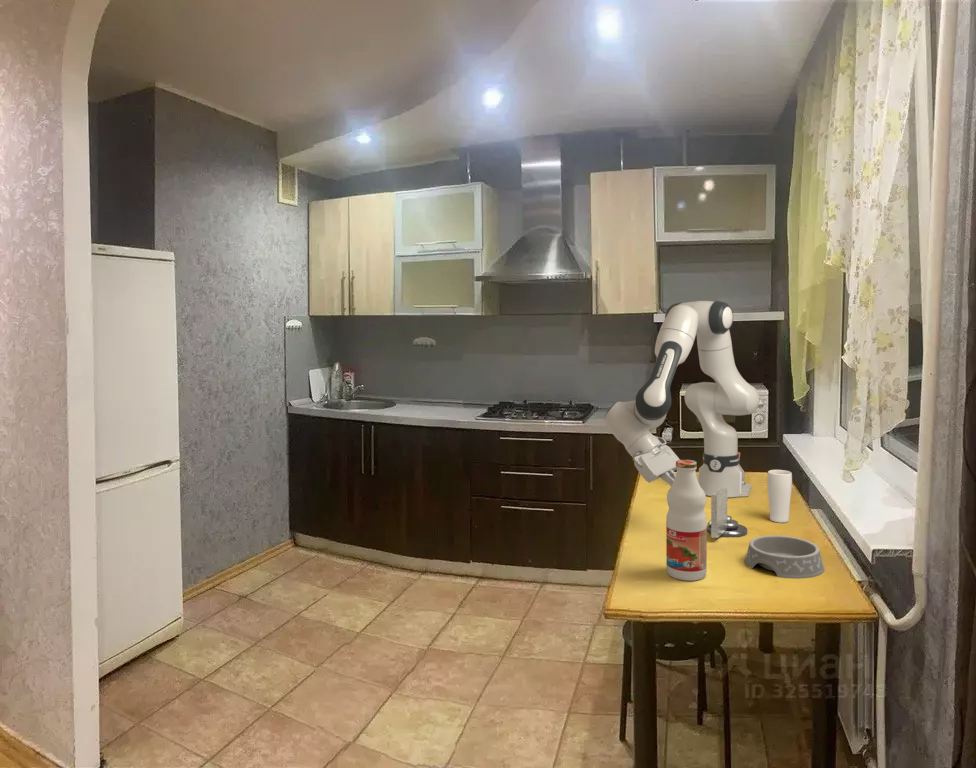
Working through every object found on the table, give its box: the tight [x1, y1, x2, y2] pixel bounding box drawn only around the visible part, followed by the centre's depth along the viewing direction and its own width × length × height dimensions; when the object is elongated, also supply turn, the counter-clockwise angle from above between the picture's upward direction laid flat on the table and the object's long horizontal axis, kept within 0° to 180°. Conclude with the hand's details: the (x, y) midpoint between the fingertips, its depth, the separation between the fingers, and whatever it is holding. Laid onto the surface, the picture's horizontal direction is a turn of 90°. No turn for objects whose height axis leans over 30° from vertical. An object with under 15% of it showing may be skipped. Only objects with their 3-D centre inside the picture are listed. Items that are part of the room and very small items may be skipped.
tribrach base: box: [707, 519, 748, 538], centre depth 196 cm, size 11×11×2 cm
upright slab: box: [710, 488, 739, 539], centre depth 192 cm, size 14×6×12 cm, turn 143°
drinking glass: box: [767, 469, 793, 524], centre depth 203 cm, size 7×7×15 cm
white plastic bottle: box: [665, 459, 708, 582], centre depth 163 cm, size 9×9×28 cm
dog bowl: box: [744, 534, 825, 580], centre depth 169 cm, size 17×18×5 cm
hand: (677, 485), depth 194 cm, fingers closed
